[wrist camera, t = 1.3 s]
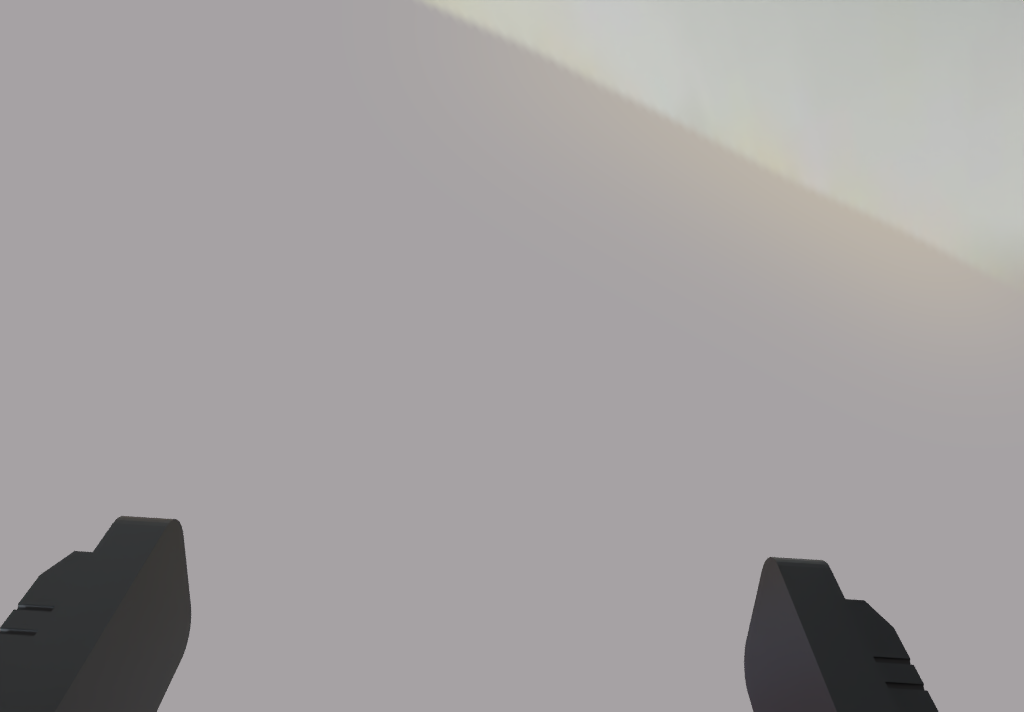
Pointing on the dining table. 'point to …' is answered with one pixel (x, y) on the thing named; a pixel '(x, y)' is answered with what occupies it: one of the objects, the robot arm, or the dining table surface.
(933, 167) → the dining table surface
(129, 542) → the robot arm
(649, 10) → the dining table surface
